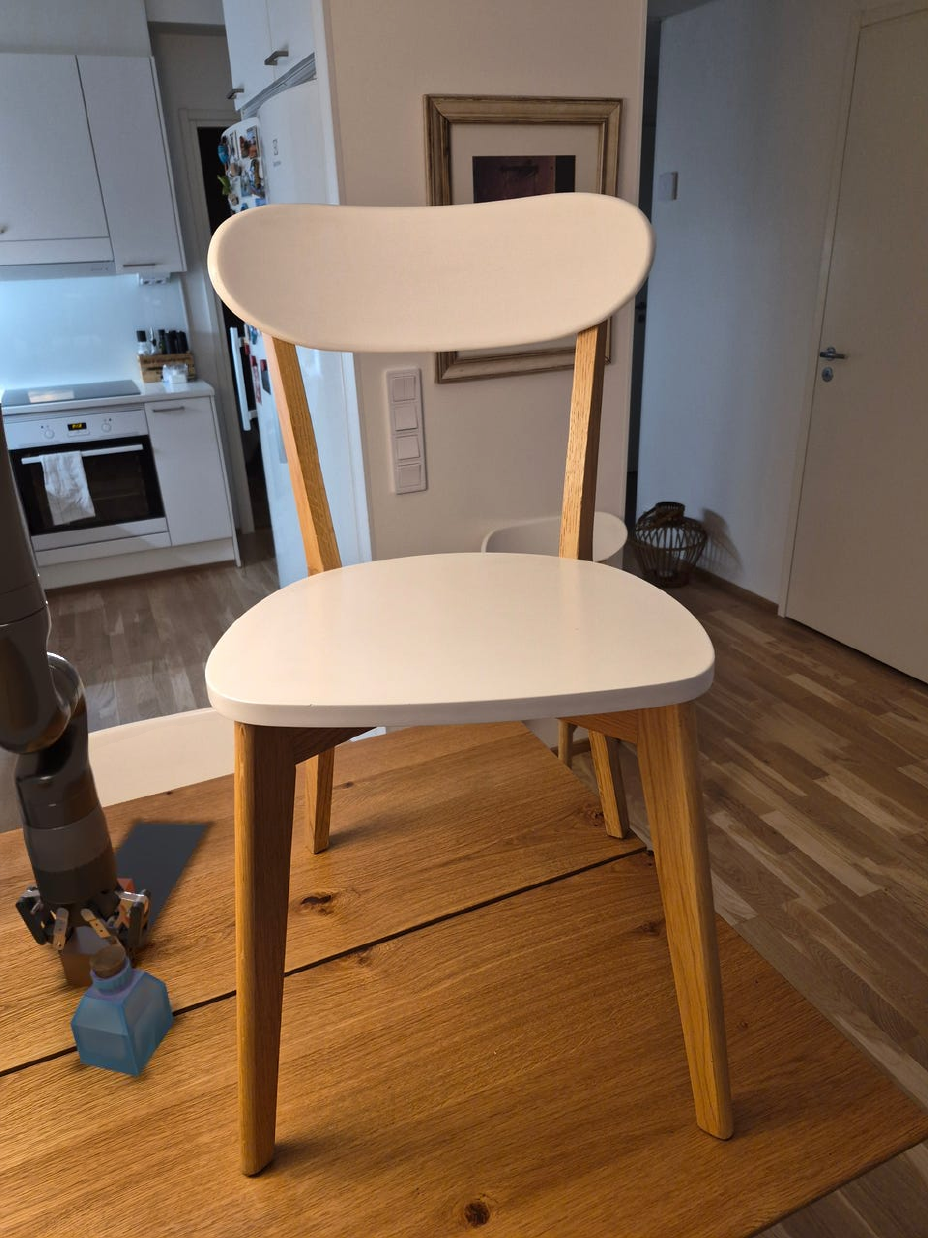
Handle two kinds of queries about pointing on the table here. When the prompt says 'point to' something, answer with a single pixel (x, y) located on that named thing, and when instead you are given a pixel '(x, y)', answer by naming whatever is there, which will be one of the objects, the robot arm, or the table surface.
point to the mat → (155, 861)
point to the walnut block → (80, 955)
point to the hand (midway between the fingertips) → (100, 968)
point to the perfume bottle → (120, 1014)
